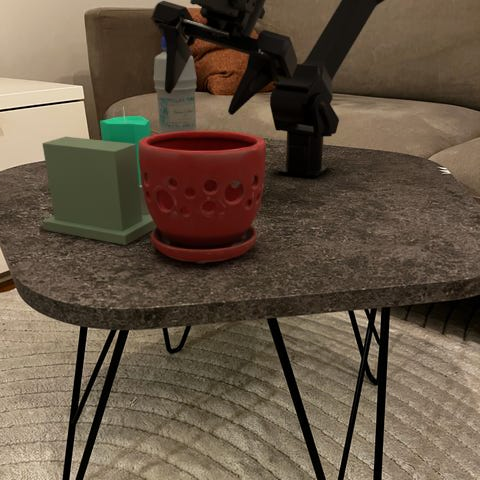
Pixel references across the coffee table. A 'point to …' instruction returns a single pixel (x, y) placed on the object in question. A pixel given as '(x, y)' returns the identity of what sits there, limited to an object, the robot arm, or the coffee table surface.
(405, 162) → the coffee table surface
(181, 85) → the bottle
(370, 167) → the coffee table surface
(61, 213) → the green tombstone shape
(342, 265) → the coffee table surface
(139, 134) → the candle
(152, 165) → the flower pot
